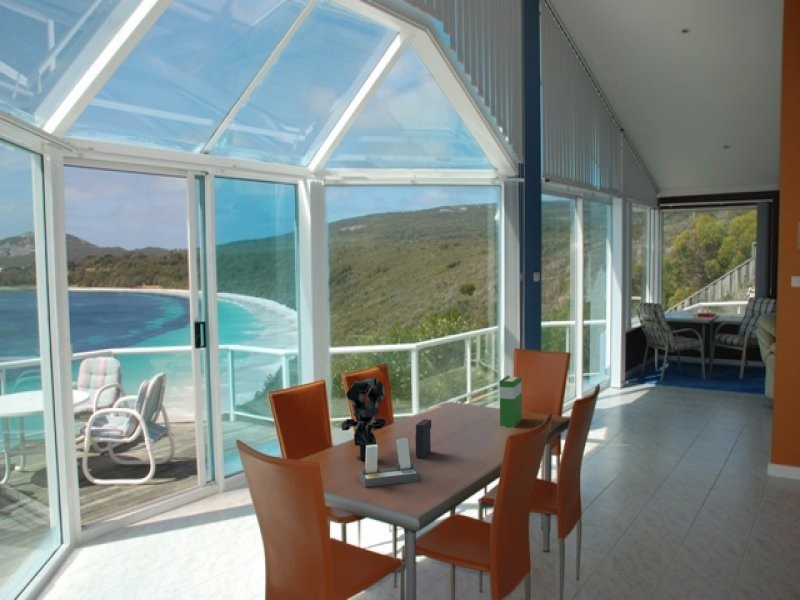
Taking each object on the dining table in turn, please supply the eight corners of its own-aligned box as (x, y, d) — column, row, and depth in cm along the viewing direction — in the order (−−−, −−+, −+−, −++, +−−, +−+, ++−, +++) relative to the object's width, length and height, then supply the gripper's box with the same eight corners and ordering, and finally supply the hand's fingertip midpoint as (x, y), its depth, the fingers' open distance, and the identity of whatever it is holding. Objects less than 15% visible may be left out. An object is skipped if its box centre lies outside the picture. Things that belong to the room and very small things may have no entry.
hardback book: (508, 418, 346) (507, 375, 345) (521, 419, 344) (521, 376, 342) (500, 426, 330) (499, 381, 329) (514, 427, 327) (513, 381, 326)
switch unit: (359, 478, 255) (359, 465, 254) (411, 472, 260) (411, 459, 260) (364, 487, 245) (364, 473, 245) (419, 480, 251) (418, 467, 250)
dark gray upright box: (423, 450, 291) (422, 418, 290) (432, 451, 289) (431, 419, 288) (414, 457, 280) (414, 424, 279) (424, 458, 279) (423, 425, 278)
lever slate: (399, 469, 255) (395, 439, 259) (409, 468, 256) (406, 438, 260) (400, 469, 253) (397, 438, 257) (411, 468, 255) (407, 437, 258)
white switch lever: (365, 471, 252) (366, 445, 248) (375, 470, 253) (376, 444, 249) (366, 474, 250) (367, 447, 246) (376, 473, 252) (378, 446, 248)
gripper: (347, 400, 260) (354, 435, 252) (387, 399, 269) (396, 433, 261) (337, 412, 268) (344, 447, 259) (377, 411, 277) (384, 444, 268)
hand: (368, 442), depth 262 cm, fingers closed
